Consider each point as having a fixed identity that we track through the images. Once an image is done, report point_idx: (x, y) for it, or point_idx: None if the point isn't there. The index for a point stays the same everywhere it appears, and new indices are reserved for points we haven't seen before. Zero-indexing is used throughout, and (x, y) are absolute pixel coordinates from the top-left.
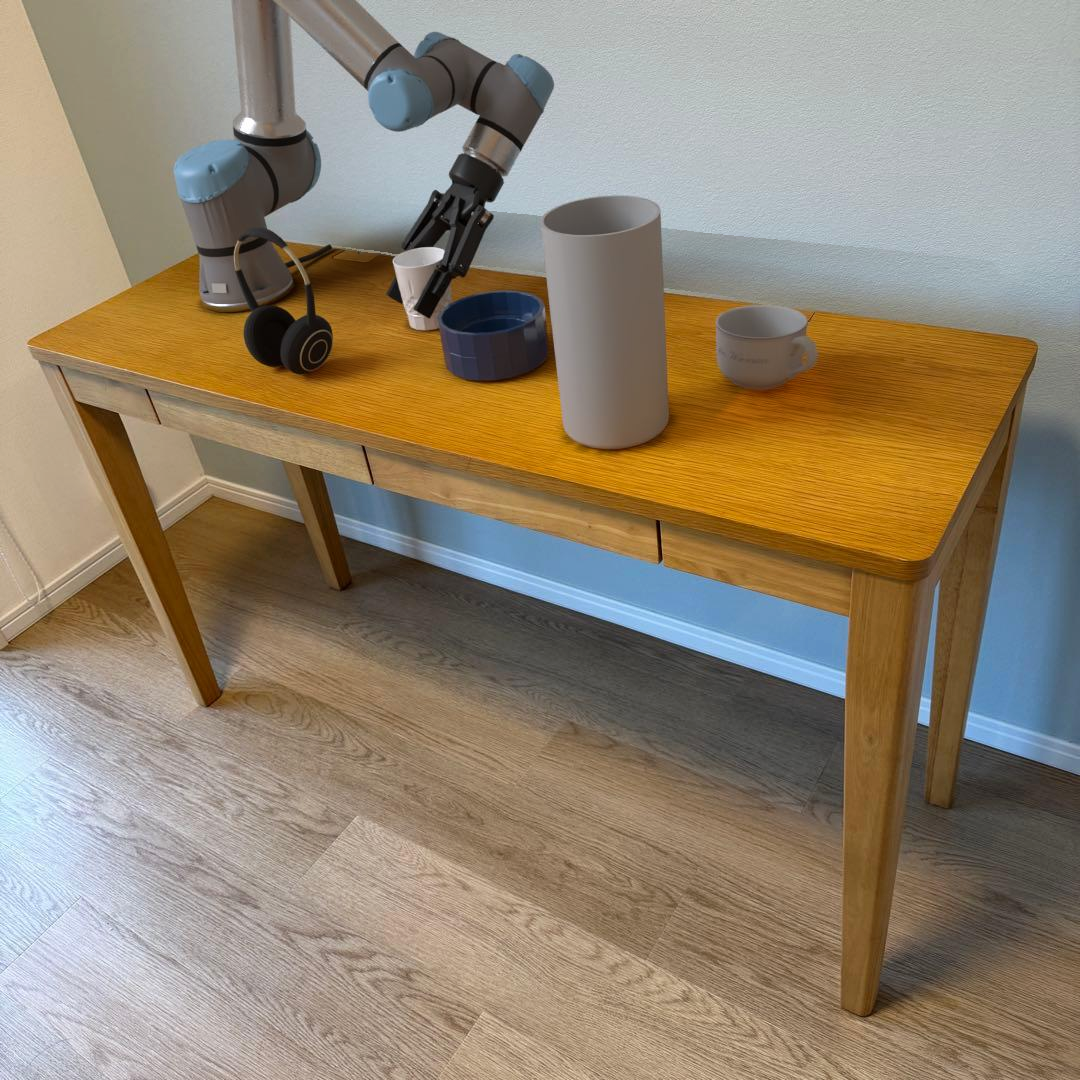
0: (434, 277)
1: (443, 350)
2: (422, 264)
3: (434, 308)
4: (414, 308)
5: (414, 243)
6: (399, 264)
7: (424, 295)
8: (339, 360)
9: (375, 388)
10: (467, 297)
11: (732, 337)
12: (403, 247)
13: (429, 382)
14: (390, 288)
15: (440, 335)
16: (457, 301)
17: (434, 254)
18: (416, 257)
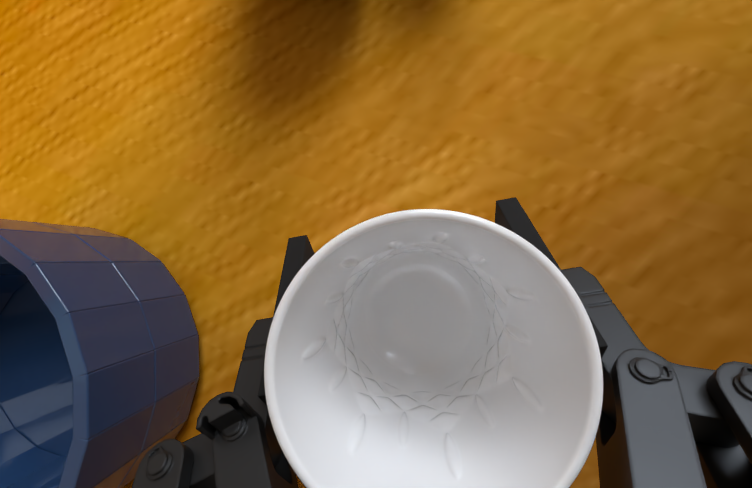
0: None
1: (45, 223)
2: (536, 394)
3: None
4: (303, 238)
5: (656, 439)
6: (522, 269)
7: (281, 284)
8: (343, 23)
9: (139, 61)
10: (76, 399)
11: None
12: (720, 370)
13: (87, 176)
14: (517, 217)
15: (15, 223)
16: (67, 350)
17: (509, 484)
18: (562, 386)
